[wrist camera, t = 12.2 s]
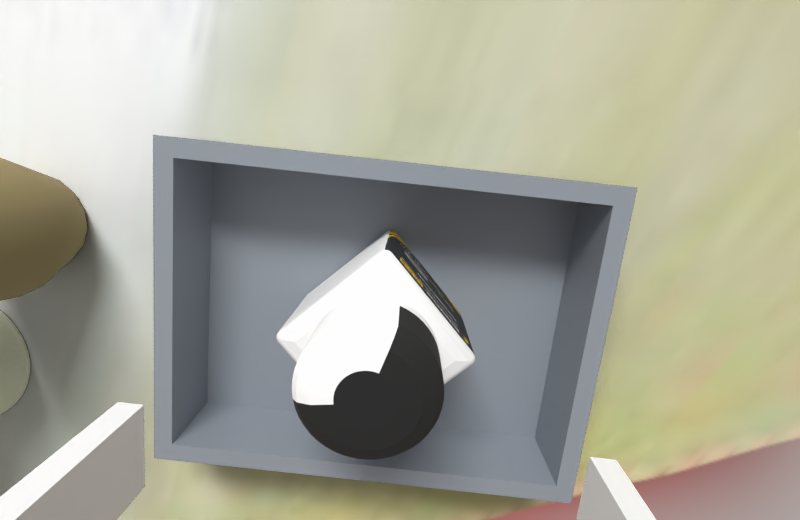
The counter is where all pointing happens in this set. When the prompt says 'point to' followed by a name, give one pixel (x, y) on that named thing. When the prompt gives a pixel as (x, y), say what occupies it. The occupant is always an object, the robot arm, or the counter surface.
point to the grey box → (333, 248)
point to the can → (12, 364)
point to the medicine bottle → (374, 353)
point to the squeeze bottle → (35, 228)
